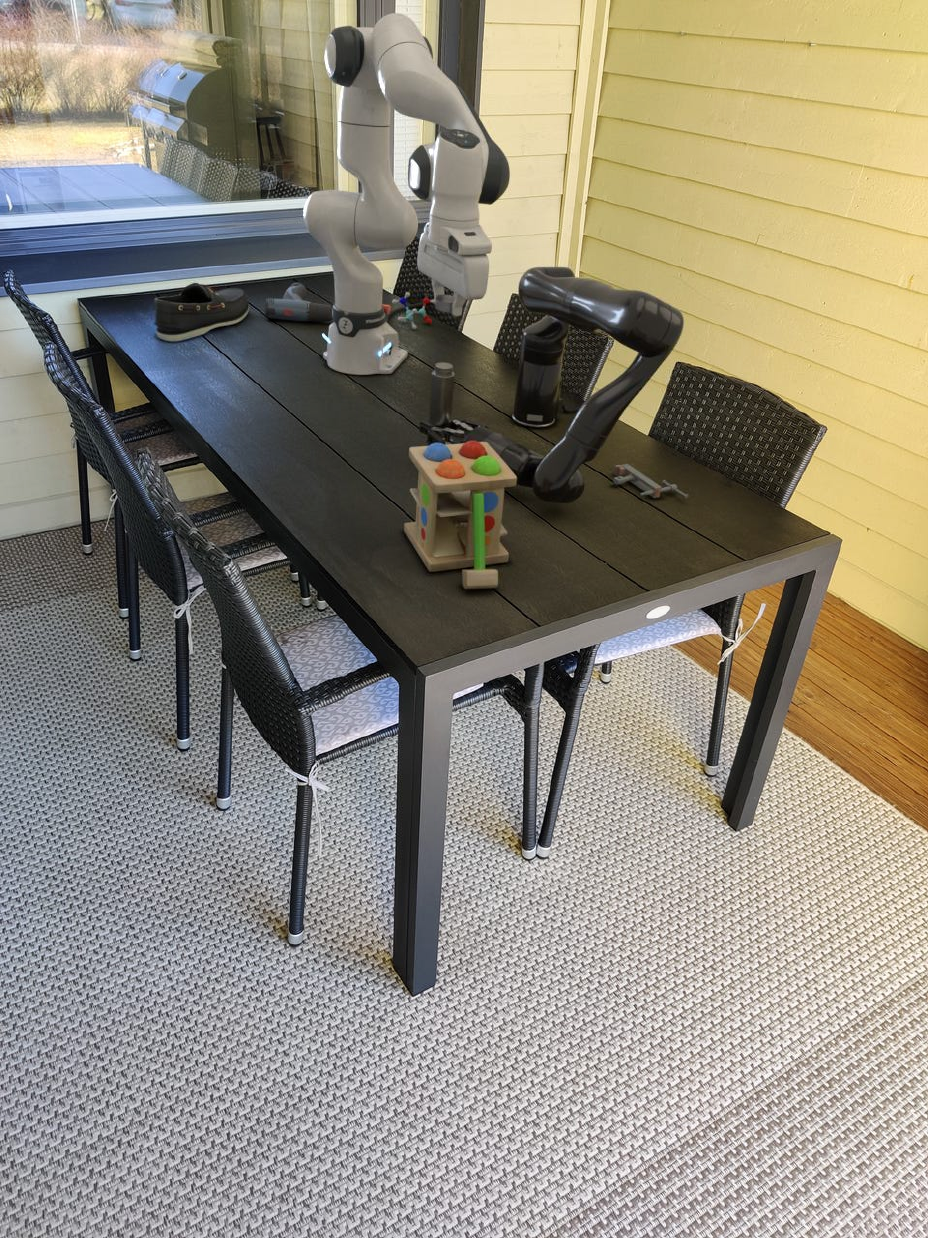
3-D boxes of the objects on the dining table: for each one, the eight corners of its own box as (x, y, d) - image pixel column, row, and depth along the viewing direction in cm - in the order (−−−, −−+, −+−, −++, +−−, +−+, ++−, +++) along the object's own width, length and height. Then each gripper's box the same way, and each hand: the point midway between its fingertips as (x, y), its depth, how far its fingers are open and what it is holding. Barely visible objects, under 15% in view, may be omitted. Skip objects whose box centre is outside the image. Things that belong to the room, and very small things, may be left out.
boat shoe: (267, 317, 262) (265, 277, 257) (175, 343, 238) (170, 300, 233) (232, 308, 268) (229, 269, 262) (138, 333, 244) (133, 291, 238)
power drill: (344, 304, 276) (335, 327, 259) (277, 298, 275) (264, 321, 258) (344, 285, 273) (335, 306, 256) (277, 279, 272) (264, 300, 255)
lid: (434, 303, 184) (435, 294, 183) (460, 305, 185) (460, 295, 184) (435, 311, 180) (435, 301, 179) (461, 313, 181) (461, 303, 180)
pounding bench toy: (528, 589, 159) (542, 490, 149) (446, 600, 155) (455, 499, 145) (478, 522, 177) (488, 429, 167) (403, 530, 172) (408, 435, 162)
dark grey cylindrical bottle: (450, 459, 198) (458, 369, 188) (430, 460, 197) (436, 369, 186) (444, 449, 202) (451, 360, 191) (424, 451, 200) (430, 361, 190)
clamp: (603, 467, 195) (642, 459, 200) (601, 477, 197) (640, 469, 201) (650, 500, 185) (691, 491, 190) (648, 510, 186) (688, 501, 191)
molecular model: (429, 321, 258) (417, 284, 257) (398, 334, 262) (385, 297, 260) (444, 323, 268) (432, 287, 267) (414, 335, 272) (402, 300, 271)
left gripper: (410, 218, 181) (407, 294, 188) (466, 247, 166) (459, 328, 174) (440, 217, 183) (436, 292, 191) (497, 246, 169) (489, 325, 177)
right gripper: (518, 425, 191) (455, 397, 200) (468, 443, 182) (404, 413, 191) (514, 460, 195) (452, 431, 204) (464, 480, 186) (402, 449, 195)
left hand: (447, 309), depth 183 cm, fingers closed on lid, 5 cm apart
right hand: (429, 423), depth 197 cm, fingers closed on dark grey cylindrical bottle, 4 cm apart
